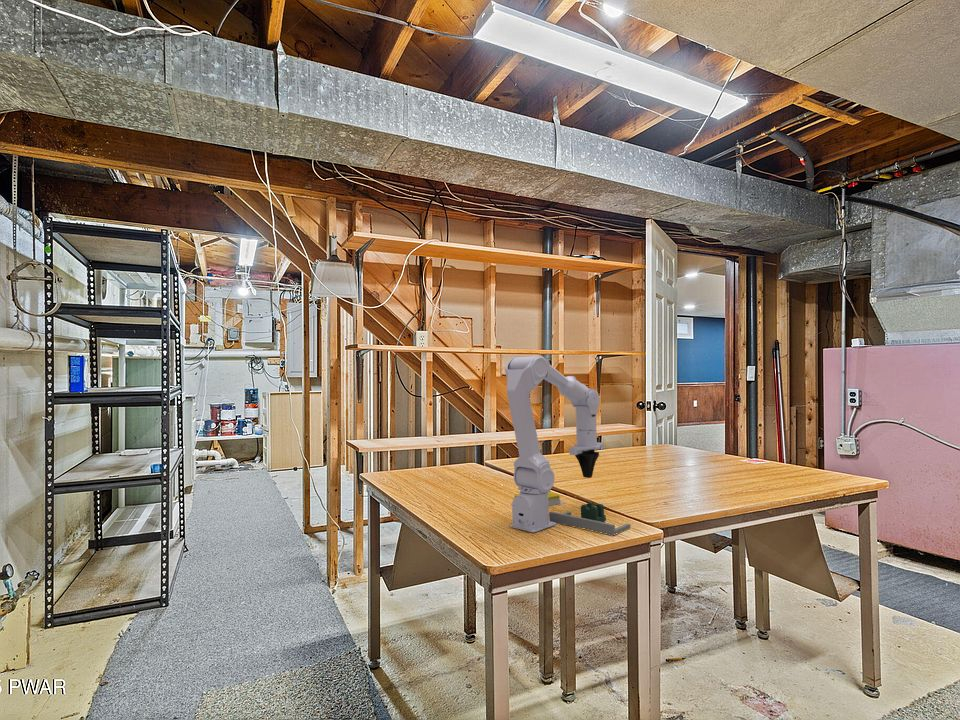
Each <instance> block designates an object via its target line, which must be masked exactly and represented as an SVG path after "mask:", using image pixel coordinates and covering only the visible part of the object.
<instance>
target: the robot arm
mask: <svg viewBox="0 0 960 720" xmlns="http://www.w3.org/2000/svg"><path fill="white" fill-rule="evenodd" d="M504 371H505V375H506V396H507V401H508V405H509V411H510V416H511V421H512V425H513V426H512V427H513V430H514V435H515V436H514V437H515V441H516V446H517V450H518V457H517V458H516V459H515V460H514V462H513V468H514V470H513V481H514V483H515V484H516V486H517V490H518V491H519V493H518V494H519V495H518V496H516V497H515V496H514V497H515V498H513V500H512V503H511V504H512V505H511V507H512V508H511V509H512V510H511V511H512V512H511V513H512V514H511V515H512V516H511V517H512V524H510V525H509V527H511V528H514V529H517V530H521V531H525V532H529V533H533V534H534V533H537V532H540V531H543V530H545V529H548V528H551V527H554V526H556V525H557V523H555V522H550V521H549V512H550V511H549V509H550V508H549V507H548V492H551V489H552V488H553V486H554V484H555V480H556V479H555V472H554V470H553V469H552V468H551V465H550V460H549V459H547V458H546V456H545V455H543V454H542V453H541V449H540V443H539V439H538V432H537V428H536V423H535V419H534V414H533V413H534V412H533V408H532V402H531V399H530V398H531V397H530V394H531V392H532V391H533V390H535V389H536V387H538V386H539V385H540V384H541V382H542V381H543V380H544V381H546V382H548V383H550V384H552V385H553V386H555V387H557V391H558V393H559V394H561V395H562V396H564V397H565V398H566V399H568V400H570V402H571V405H572V407H573V408H575V425H576V428H575V429H576V430H575V431H576V432H575V435H576V445H573V446H571V447H568V449H569V450H568V451H569V455H570V456H571V455H572V456H575V458H576V459H577V461H578V463H579V466H580V469H581V472H582V476H583V478H587V479H590V478H592V477H593V474H594V469H595V465H596V461H597V460H598V457H599V456H600V450H604V442H598V439H597V437H598V436H597V434H598V433H597V414H598V412H599V410H598V409H599V405H600V403H601V397H600V394H599V393H598V391H597V390H596V389H594V388H588V387H587V386H586V384H585V383H582V382H580V381H579V380H577V377H575V375H568V376H565V375H563V374H562V373H561V372H560V371H558V370H557V369H556V368H555V367H554V366H553V365H551V364H550V360H549V359H547V358H545V357H544V356H542V355H535V356H533V355H532V356H513V357H511V358H510V359H509V361H507V363H506V366H505V367H504ZM598 450H599V452H598Z"/></svg>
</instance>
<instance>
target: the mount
mask: <svg viewBox="0 0 960 720" xmlns="http://www.w3.org/2000/svg"><path fill="white" fill-rule="evenodd" d="M606 516H607V515H605V506H604V504H603V503H597V504H596V505H595V504H594V502H593V501H592V502H591V501H590V502H588V503H586V504H582V505H580V517H581V518H586V519H590V520H595V521H600V522H604V521H605V522H606V520H607V517H606Z"/></svg>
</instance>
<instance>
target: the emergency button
mask: <svg viewBox="0 0 960 720" xmlns="http://www.w3.org/2000/svg"><path fill="white" fill-rule="evenodd" d="M519 494H520V493H518V494H515V495H514V496H513V497H514V498H515V497H516V496H518V495H519ZM514 498H513V499H514ZM560 499H561V498H560V494H557V493H553V492H551V491H550V492H548V507H549V506H550V507H554V505H555V506H559V504H560V505H564V503H565V504H566V501H564V500H560ZM510 504H511V506H512V503H510Z"/></svg>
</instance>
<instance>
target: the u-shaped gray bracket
mask: <svg viewBox="0 0 960 720" xmlns="http://www.w3.org/2000/svg"><path fill="white" fill-rule="evenodd" d="M549 521H550V522H555V523H556V524H558V523H560V524H559V525H562V524H565V525H564V526H567V525H570V526H569V527H571V526H575V527H574V528H576V527H580V528H585V529H589V530H593V531H597V532H602V533H607V534H610V535H614V534H616V533H619V532H621V531H623V532H625V531H627V529H628V530H629V529H631V523H625V524H622V525H620V526H618V527H616V525H615V524H613V523H608V522H606V521H605V522H600V521H595V520H590V519H586V518H581V516H575V515H572V512H571V511H565V512H562V513H561V512H556V511H549ZM580 528H579V529H580ZM589 530H588V531H589ZM624 530H625V531H624ZM593 531H592V532H593ZM597 532H596V533H597ZM602 533H601V534H602ZM621 533H622V532H621ZM619 534H620V533H619ZM610 535H609V536H610ZM616 535H617V534H616ZM614 536H615V535H614Z"/></svg>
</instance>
